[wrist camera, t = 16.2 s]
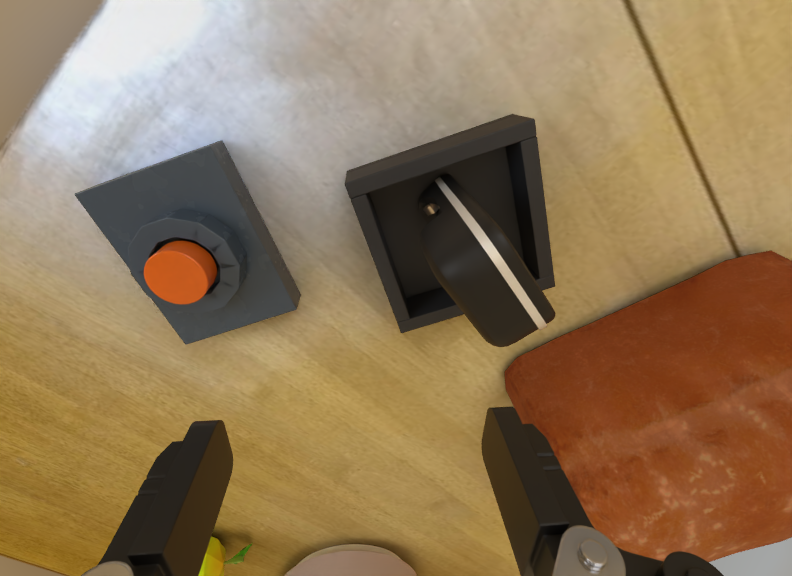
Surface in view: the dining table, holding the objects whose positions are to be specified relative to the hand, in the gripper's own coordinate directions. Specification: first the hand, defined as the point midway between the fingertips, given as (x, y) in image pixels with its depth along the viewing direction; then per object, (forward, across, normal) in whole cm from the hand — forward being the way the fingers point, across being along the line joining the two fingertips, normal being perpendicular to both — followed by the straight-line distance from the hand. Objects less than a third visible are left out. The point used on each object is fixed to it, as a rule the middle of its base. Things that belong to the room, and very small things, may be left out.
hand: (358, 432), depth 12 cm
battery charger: (+18, -6, -1) cm, 19 cm away
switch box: (+18, +11, +1) cm, 21 cm away
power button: (+15, +11, +1) cm, 18 cm away
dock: (+18, -6, 0) cm, 19 cm away
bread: (+18, -26, +14) cm, 35 cm away
